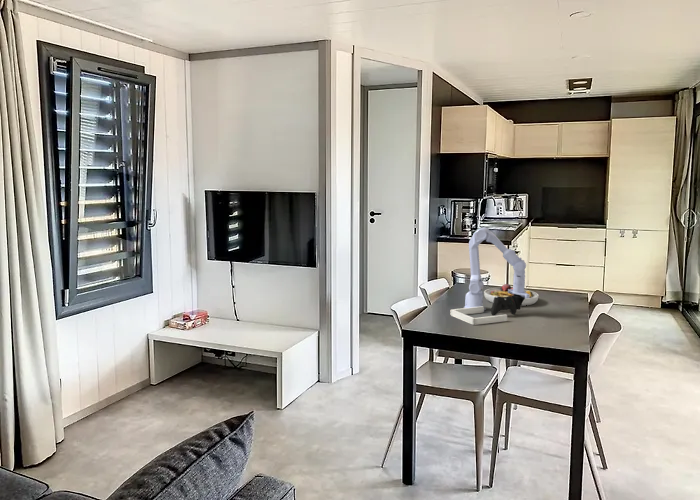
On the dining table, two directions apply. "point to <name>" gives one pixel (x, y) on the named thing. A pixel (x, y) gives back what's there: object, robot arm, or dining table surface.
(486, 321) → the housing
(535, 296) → the bowl
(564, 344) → the dining table surface
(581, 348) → the dining table surface
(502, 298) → the gaming controller
